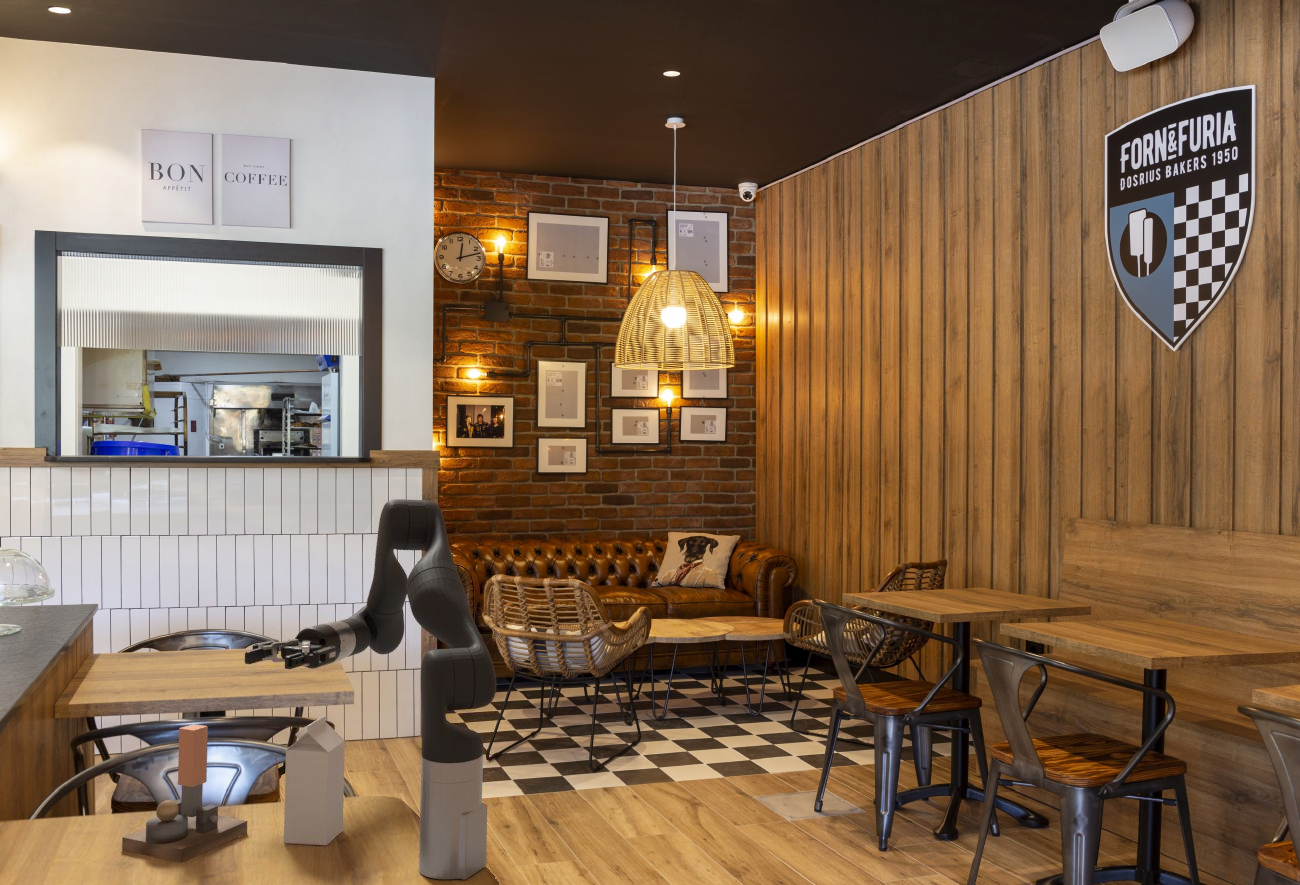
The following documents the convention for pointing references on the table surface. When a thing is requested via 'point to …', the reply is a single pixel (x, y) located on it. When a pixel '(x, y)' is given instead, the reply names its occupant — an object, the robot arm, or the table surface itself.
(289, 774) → the milk carton
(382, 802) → the table surface
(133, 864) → the table surface
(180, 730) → the lever
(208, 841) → the base
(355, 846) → the table surface
